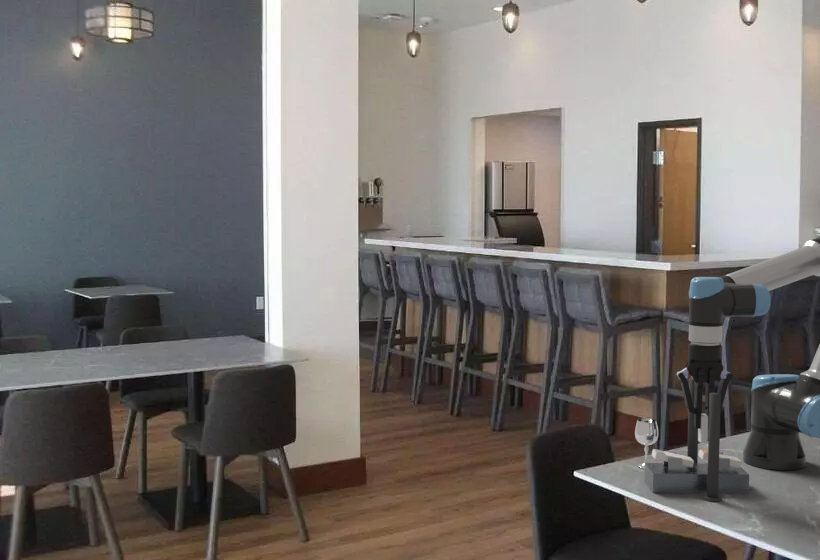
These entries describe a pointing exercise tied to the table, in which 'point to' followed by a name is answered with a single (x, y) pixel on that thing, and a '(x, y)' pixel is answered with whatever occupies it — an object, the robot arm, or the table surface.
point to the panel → (694, 477)
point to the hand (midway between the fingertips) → (702, 441)
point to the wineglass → (646, 435)
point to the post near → (713, 448)
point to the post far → (692, 429)
